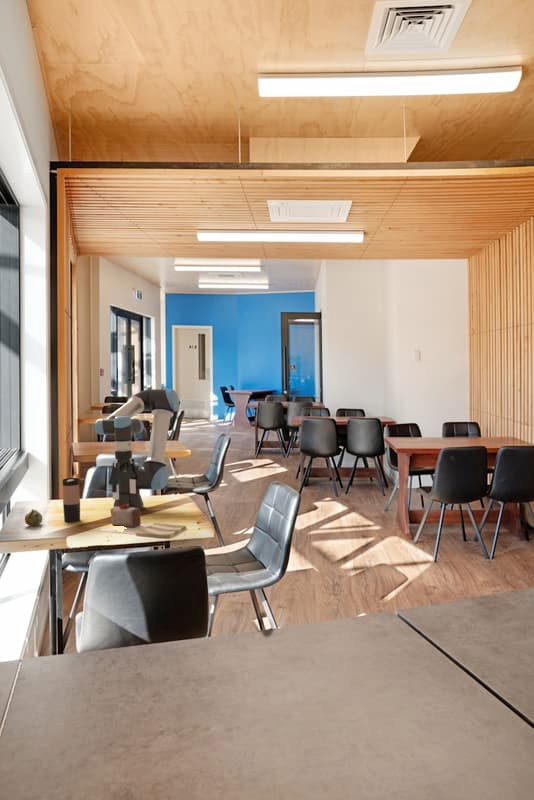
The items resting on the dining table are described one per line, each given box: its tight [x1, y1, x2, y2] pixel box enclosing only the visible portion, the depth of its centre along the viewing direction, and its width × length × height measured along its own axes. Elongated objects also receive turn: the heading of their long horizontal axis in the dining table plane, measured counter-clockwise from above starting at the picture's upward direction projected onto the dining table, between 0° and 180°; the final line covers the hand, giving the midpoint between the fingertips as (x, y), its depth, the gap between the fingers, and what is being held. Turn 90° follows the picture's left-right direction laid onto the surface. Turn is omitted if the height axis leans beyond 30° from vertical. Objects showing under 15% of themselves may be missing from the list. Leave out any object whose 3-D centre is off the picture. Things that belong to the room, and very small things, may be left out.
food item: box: [110, 503, 142, 528], centre depth 273 cm, size 14×8×10 cm, turn 66°
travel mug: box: [62, 477, 81, 524], centre depth 283 cm, size 8×8×20 cm
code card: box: [98, 523, 152, 535], centre depth 270 cm, size 16×18×1 cm
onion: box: [24, 508, 43, 527], centre depth 276 cm, size 8×8×8 cm
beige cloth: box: [135, 522, 187, 539], centre depth 262 cm, size 16×16×1 cm
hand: (124, 496), depth 272 cm, fingers open, 13 cm apart
